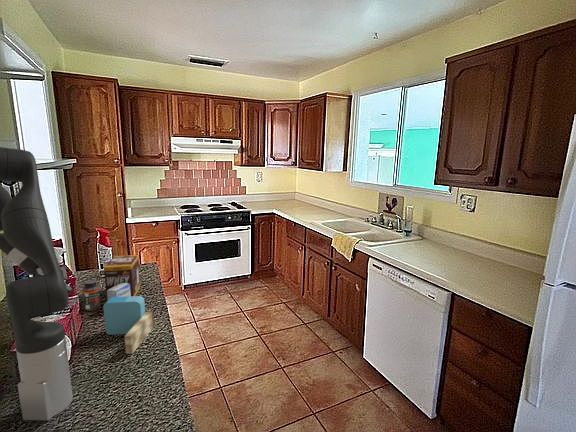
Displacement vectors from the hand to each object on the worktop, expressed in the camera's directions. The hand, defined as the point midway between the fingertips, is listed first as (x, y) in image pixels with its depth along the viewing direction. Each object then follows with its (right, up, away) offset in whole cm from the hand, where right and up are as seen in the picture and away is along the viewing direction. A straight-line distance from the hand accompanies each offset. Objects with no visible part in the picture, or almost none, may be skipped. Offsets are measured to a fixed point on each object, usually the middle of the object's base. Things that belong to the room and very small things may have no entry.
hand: (69, 292), depth 109 cm
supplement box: (+3, -8, +31) cm, 32 cm away
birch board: (+26, -15, -3) cm, 30 cm away
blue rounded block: (+19, -14, +2) cm, 24 cm away
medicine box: (+7, -11, +19) cm, 23 cm away
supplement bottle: (-3, -11, +18) cm, 21 cm away
